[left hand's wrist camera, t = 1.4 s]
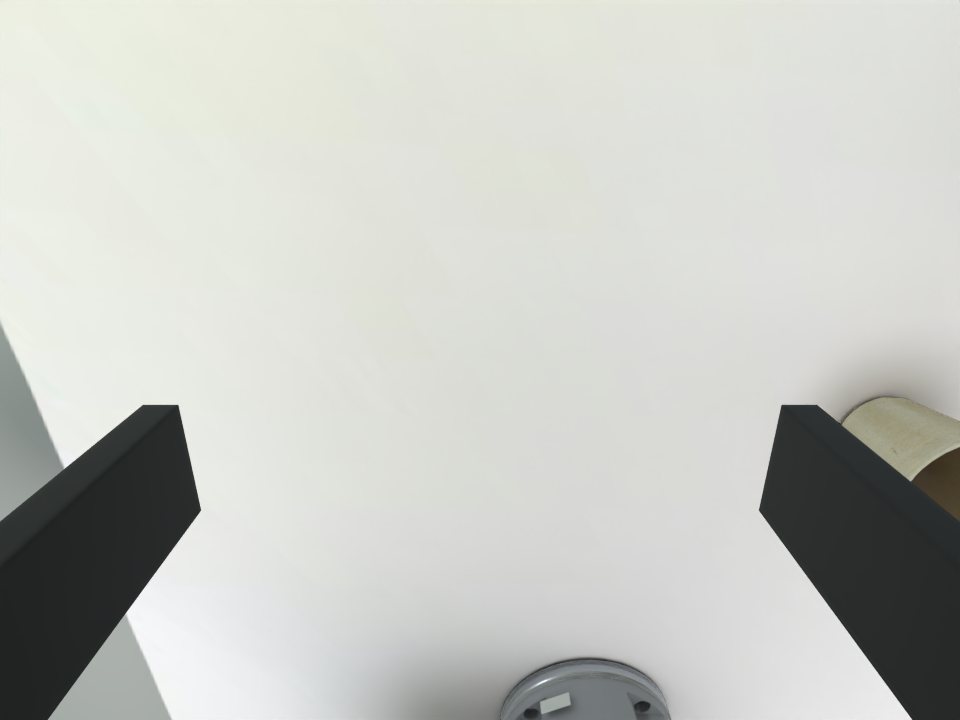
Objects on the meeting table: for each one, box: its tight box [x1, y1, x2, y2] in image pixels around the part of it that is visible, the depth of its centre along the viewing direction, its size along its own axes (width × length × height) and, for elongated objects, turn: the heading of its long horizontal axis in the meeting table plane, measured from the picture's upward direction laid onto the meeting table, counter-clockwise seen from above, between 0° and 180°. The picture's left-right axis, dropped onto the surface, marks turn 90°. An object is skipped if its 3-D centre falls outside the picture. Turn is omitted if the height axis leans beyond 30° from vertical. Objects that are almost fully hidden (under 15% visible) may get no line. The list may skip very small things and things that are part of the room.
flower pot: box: [842, 397, 960, 521], centre depth 37 cm, size 9×9×9 cm
